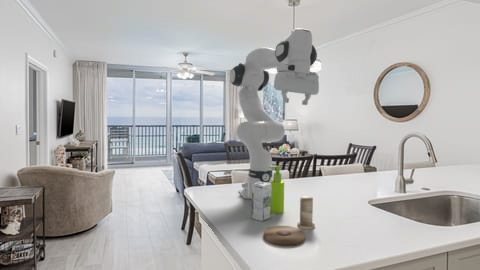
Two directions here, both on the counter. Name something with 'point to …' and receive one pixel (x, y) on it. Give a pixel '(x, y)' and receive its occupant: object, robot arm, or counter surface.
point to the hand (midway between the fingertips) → (295, 103)
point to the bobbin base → (284, 235)
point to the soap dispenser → (277, 192)
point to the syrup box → (261, 201)
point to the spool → (306, 213)
